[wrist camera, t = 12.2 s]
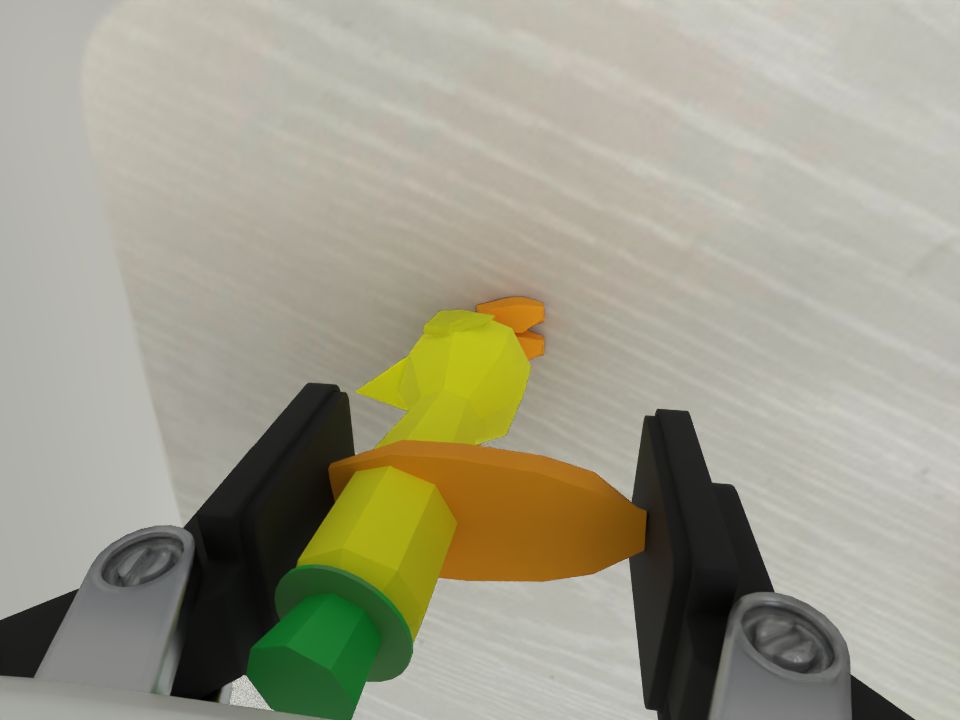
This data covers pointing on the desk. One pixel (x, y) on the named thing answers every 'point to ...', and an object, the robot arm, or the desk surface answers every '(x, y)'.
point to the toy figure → (433, 515)
